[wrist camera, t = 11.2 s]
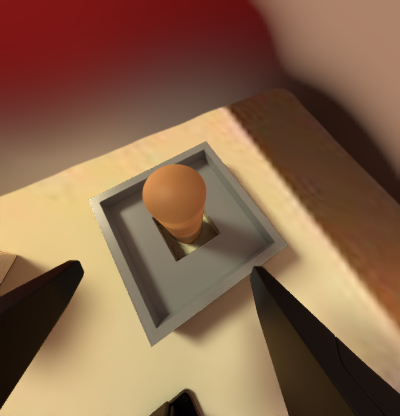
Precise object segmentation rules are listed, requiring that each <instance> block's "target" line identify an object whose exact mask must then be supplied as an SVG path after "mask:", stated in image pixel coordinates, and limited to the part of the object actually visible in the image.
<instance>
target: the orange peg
mask: <svg viewBox="0 0 400 416" xmlns="http://www.w3.org/2000/svg"><path fill="white" fill-rule="evenodd" d="M205 200H206V185H205V182H204V180H203V178H202V177H201V175H200V174H199V173H198V172H197V171H195V170H194V169H192V168H191V167H188V166H185V165H181V164H171V165H166V166H163V167H161V168H159V169H157V170H156V171H154V172H153V173H152V174H151V175H150V176H149V177H148V179H147V180H146V182H145V184H144V187H143V202H144V205H145V207H146V208H147V210H148V211H149V212H150V213H151V215H153V216H154V217H155V218H156V219H157V220H158V221H159V222H160V223H161V224H162V225H163V226H164V227H165V228H166V229H167V230H168V231H169V232H170V233H171V234H172V235H173V236H174V237H175V238H176V239H177V240H178V241H180V242H182V243H191V242H193V241H195V240H196V239H197V238H198V237H199V235H200V232H201V225H202V219H203V213H204V207H205Z"/></svg>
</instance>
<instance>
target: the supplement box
mask: <svg viewBox="0 0 400 416" xmlns="http://www.w3.org/2000/svg"><path fill="white" fill-rule="evenodd" d="M15 258H16V255H15V254H10V253H4V252H0V284H1V282H2V281H3V279H4V277H5V275H6V274H7V272H8V270H9V269H10V267H11V265H12V264H13V262H14V260H15Z"/></svg>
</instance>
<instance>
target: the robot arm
mask: <svg viewBox="0 0 400 416" xmlns="http://www.w3.org/2000/svg"><path fill="white" fill-rule="evenodd" d="M83 275H84V270H83V268H82V266H81V263H80V262H79V261H78V260H69V261H67V262H65V263H63V264H61V265H59V266H57V267H55V268H54V269H52V270H50V271H48V272H46V273H44V274H42V275H40V276H38V277H37V278H35V279H33V280H31V281H29V282H27V283H25V284H23V285H21V286H20V287H18V288H16V289H14V290H12V291H10V292H8V293H6V294H4V295H3V296H1V297H0V409H1V408H2V406H3V405H4V403H5V402H6V400H7V399H8V397H9V395H10V394H11V392H12V391H13V389H14V388H15V386H16V385H17V383H18V382H19V380H20V378H21V377H22V375H23V374H24V372H25V371H26V369H27V368H28V366H29V365H30V363H31V361H32V360H33V358H34V357H35V355H36V354H37V352H38V351H39V349H40V348H41V346H42V344H43V343H44V341H45V340H46V338H47V337H48V335H49V334H50V332H51V331H52V329H53V327H54V326H55V324H56V323H57V321H58V320H59V318H60V317H61V315H62V314H63V312H64V310H65V309H66V307H67V305H68V304H69V302H70V300H71V298H72V296H73V294H74V292H75V291H76V289H77V287H78V285H79V283H80V281H81V279H82V277H83ZM250 281H251V286H252V291H253V296H254V300H255V305H256V310H257V314H258V317H259V321H260V324H261V327H262V330H263V334H264V337H265V340H266V343H267V347H268V350H269V353H270V356H271V359H272V363H273V366H274V369H275V372H276V376H277V379H278V382H279V385H280V389H281V392H282V395H283V398H284V401H285V405H286V408H287V411H288V414H289V416H400V394H399V393H398V392H397V391H396V390H395V389H394V388H392V387H391V386H390V385H389V384H388V383H387V382H386V381H384V380H383V379H382V378H381V377H380V376H379V375H378V374H376V373H375V372H374V371H373V370H372V369H371V368H370V367H368V366H367V365H366V364H365V363H364V362H363V361H362V360H361V359H360V358H359V357H358V356H356V355H355V354H354V353H353V352H352V351H351V350H350V349H349V348H348V347H347V346H346V345H345V344H344V343H343V342H342V341H340V340H339V339H338V338H337V337H335V335H334V334H333V333H332V332H331V331H330V330H329V329H328V328H327V327H326V326H325V325H324V324H322V323H321V322H320V321H319V320H318V319H317V318H316V317H315V316H314V315H313V314H312V313H311V312H310V311H309V310H308V309H307V308H306V307H305V306H303V305H302V304H301V303H300V302H299V301H298V300H297V299H296V298H295V297H294V296H293V295H292V294H291V293H290V292H289V291H288V290H287V289H286V288H285V287H283V286H282V285H281V284H280V283H279V282H278V281H277V280H276V279H275V278H274V277H273V276H272V275H271V274H270V273H269V272H268V271H267V270H266V269H265V268H263V267H262V266H253V269H252V272H251V276H250ZM183 396H187V398H186V399H184V398H183ZM150 416H200V414H199V412H198V410H197V408H196V405H195V403H194V401H193V399H192V397H191V395H190V392H189V391H188V390H187V389H184V390H183V391H181V392H180V393H179V394H178V395H177V396H175V397H174V398H173V399H172V400H171V401H170V402H165V403H164V404H163V405H162V406H160V407H159V408H158V409H157V410H156V411H154V412H153V413H152V414H151V415H150Z"/></svg>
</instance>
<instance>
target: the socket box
mask: <svg viewBox="0 0 400 416" xmlns="http://www.w3.org/2000/svg"><path fill="white" fill-rule="evenodd" d="M171 164H181V165H185V166H188V167H191V168H192V169H194V170H195V171H197V172H198V173H199V174H200V175H201V177H202V178H203V180H204V182H205V185H206V200H205V207H204V213H203V214H204V216H205V217H206V219H207V220H208V222H209V223H210V225H211V226H212V228H213V229H214V231H215V232H216V234H217V236H216V237H214V238H213V239H211V240H210V241H208V242H207V243H205V244H203V245H202V246H200V247H199V248H197V249H196V250H194V251H193V252H191V253H190V254H188V255H187V256H185V257H183V258H182V259H180V260H179V261H178V260H177V258H176V256H175V254H174V253H173V251H172V249H171V247H170V245H169V244H168V242H167V240H166V238H165V236H164V235H163V233H162V231H161V229H160V227H159V226H158V224H157V221H158V220H157V219H156V218H155V217H154V216H153V215H151V213H150V212H149V211H148V210H147V208H146V207H145V205H144V202H143V187H144V184H145V182H146V180H147V179H148V177H149V176H150V175H151V174H152V173H153V172H154V171H156V170H157V169H159V168H161V167H163V166H166V165H171ZM88 201H89V203H90V206H91V208H92V210H93V213H94V215H95V217H96V220H97V222H98V224H99V227H100V229H101V231H102V233H103V236H104V238H105V240H106V243H107V245H108V247H109V250H110V252H111V254H112V257H113V259H114V261H115V264H116V266H117V268H118V271H119V273H120V275H121V278H122V280H123V282H124V284H125V287H126V289H127V291H128V294H129V296H130V298H131V301H132V303H133V305H134V308H135V310H136V312H137V315H138V317H139V319H140V322H141V324H142V326H143V329H144V331H145V333H146V335H147V338H148V340H149V342H150V345H151V347H152V346H154V345H155V344H156V343H158V342H159V341H160V340H162V339H163V338H164V337H166V336H167V335H168V334H170V333H171V332H172V331H174V330H175V329H176V328H178V327H179V326H180V325H182V324H183V323H184V322H186V321H187V320H188V319H190V318H191V317H192V316H194V315H195V314H196V313H198V312H199V311H201V310H202V309H203V308H205V307H206V306H207V305H209V304H210V303H211V302H213V301H214V300H215V299H217V298H218V297H219V296H221V295H222V294H223V293H225V292H226V291H227V290H229V289H230V288H231V287H233V286H234V285H235V284H237V283H238V282H239V281H241V280H242V279H243V278H245V277H246V276H247V275H249V274H250V273H251V272H252V269H253V266H261V265H262V264H264V263H265V262H266V261H268V260H269V259H270V258H272V257H273V256H274V255H276V254H277V253H278V252H280V251H281V250H282V249H284V248H285V247H286V246H288V245H287V243H286V242H285V241H284V239H283V238H282V237H281V236H280V234H279V233H278V232H277V231H276V229H275V228H274V227H273V226H272V224H271V223H270V222H269V220H268V219H267V218H266V217H265V215H264V214H263V213H262V212H261V210H260V209H259V208H258V206H257V205H256V204H255V203H254V201H253V200H252V199H251V198H250V196H249V195H248V194H247V193H246V191H245V190H244V189H243V187H242V186H241V185H240V184H239V182H238V181H237V180H236V179H235V177H234V176H233V175H232V174H231V172H230V171H229V170H228V168H227V167H226V166H225V165H224V163H223V162H222V161H221V160H220V158H219V157H218V156H217V155H216V153H215V152H214V151H213V149H212V148H211V147H210V146H209V144H208V143H207V142H206V141H205V142H203V143H201V144H199V145H197V146H195V147H193V148H191V149H189V150H187V151H185V152H183V153H181V154H179V155H177V156H175V157H173V158H171V159H169V160H167V161H165V162H163V163H161V164H159V165H157V166H155V167H153V168H151V169H149V170H147V171H145V172H143V173H141V174H139V175H137V176H135V177H133V178H131V179H129V180H127V181H125V182H123V183H121V184H119V185H117V186H115V187H113V188H111V189H109V190H107V191H105V192H103V193H101V194H99V195H97V196H95V197H93V198H91V199H89V200H88Z"/></svg>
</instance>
